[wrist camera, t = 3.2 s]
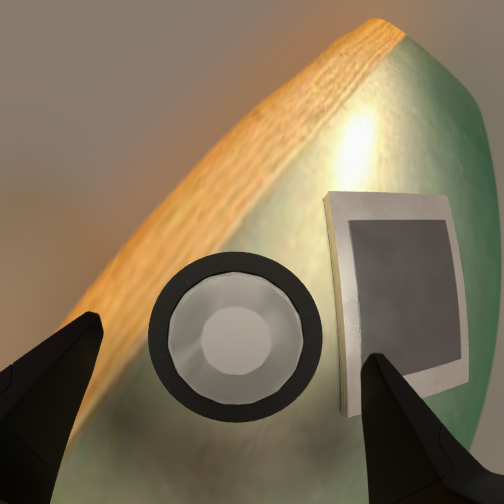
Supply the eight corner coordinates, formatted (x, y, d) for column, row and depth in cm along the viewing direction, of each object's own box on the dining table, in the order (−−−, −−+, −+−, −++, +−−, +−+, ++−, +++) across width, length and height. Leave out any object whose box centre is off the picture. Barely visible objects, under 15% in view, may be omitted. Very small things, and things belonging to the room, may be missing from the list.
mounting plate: (458, 379, 18) (469, 381, 16) (341, 412, 17) (348, 418, 15) (438, 201, 21) (448, 194, 19) (323, 198, 20) (329, 190, 19)
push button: (225, 251, 19) (219, 174, 9) (303, 291, 18) (377, 256, 9) (172, 348, 17) (109, 374, 7) (253, 389, 17) (277, 459, 7)
